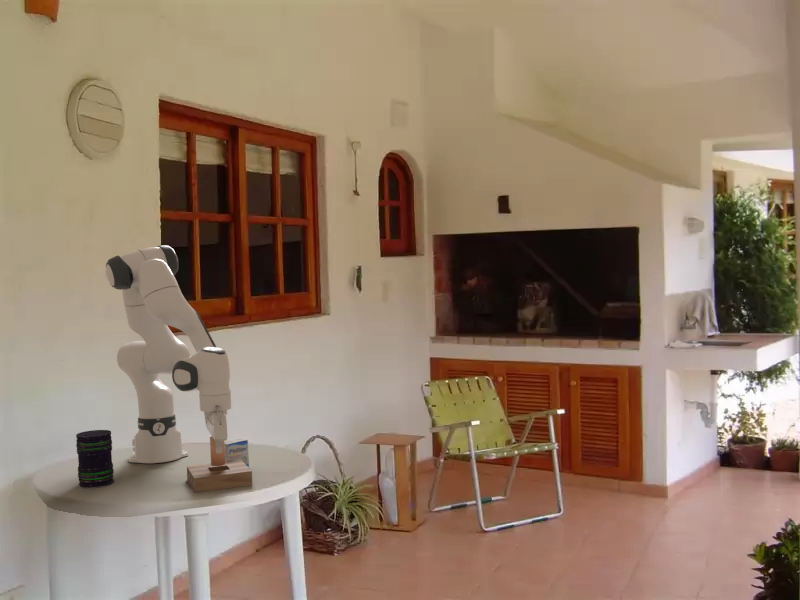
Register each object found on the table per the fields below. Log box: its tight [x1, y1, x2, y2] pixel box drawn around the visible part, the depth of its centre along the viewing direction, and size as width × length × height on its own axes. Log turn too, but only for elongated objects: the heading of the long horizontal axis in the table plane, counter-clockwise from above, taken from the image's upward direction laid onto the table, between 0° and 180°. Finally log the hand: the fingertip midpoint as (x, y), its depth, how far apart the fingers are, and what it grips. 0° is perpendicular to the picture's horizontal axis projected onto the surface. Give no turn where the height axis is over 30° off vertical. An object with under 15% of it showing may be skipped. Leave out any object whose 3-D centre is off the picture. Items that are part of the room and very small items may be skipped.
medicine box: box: [224, 438, 250, 468], centre depth 259 cm, size 8×4×9 cm, turn 137°
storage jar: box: [75, 429, 115, 489], centre depth 247 cm, size 10×10×15 cm
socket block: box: [186, 460, 253, 493], centre depth 243 cm, size 16×16×4 cm
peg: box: [209, 436, 225, 466], centre depth 243 cm, size 4×4×8 cm
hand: (217, 451), depth 243 cm, fingers closed on peg, 4 cm apart
